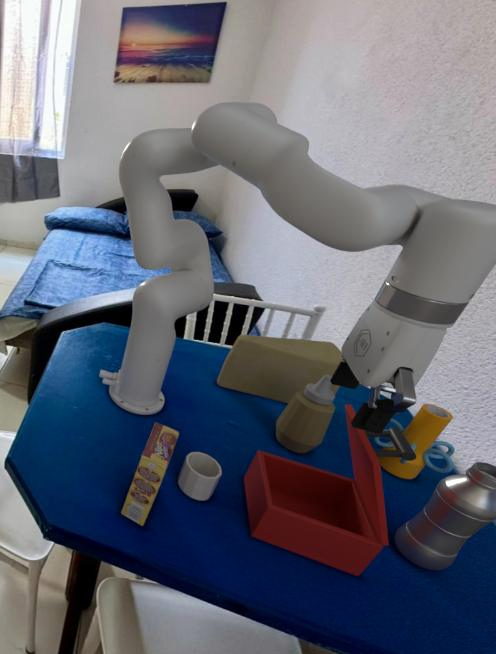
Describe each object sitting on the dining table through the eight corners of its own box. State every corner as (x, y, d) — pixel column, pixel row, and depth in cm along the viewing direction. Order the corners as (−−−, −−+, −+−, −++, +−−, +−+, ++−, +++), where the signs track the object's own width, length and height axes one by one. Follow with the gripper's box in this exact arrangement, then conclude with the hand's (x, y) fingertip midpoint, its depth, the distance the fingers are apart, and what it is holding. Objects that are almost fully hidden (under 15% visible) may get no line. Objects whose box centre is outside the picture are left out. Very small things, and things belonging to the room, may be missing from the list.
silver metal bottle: (378, 536, 69) (445, 454, 59) (414, 534, 69) (487, 452, 60) (416, 577, 63) (498, 494, 53) (455, 574, 64) (543, 491, 54)
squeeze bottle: (323, 461, 82) (365, 393, 74) (279, 454, 83) (316, 386, 75) (303, 432, 89) (340, 366, 80) (263, 425, 90) (295, 360, 82)
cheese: (221, 397, 98) (241, 346, 91) (212, 372, 107) (230, 324, 100) (325, 416, 94) (355, 364, 86) (307, 389, 102) (334, 339, 95)
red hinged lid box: (251, 536, 68) (268, 506, 64) (243, 478, 78) (258, 449, 74) (358, 576, 63) (383, 547, 59) (335, 508, 73) (356, 480, 69)
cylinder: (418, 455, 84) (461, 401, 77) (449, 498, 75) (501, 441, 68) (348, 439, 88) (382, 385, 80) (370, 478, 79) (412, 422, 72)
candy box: (145, 528, 69) (167, 467, 61) (120, 514, 71) (138, 454, 63) (158, 491, 75) (180, 431, 68) (135, 479, 77) (153, 420, 70)
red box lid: (372, 463, 55) (428, 464, 52) (344, 404, 65) (390, 403, 62) (381, 545, 59) (434, 550, 56) (354, 478, 69) (397, 480, 66)
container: (177, 492, 75) (186, 471, 72) (178, 469, 80) (186, 447, 77) (212, 505, 73) (222, 483, 70) (211, 480, 77) (220, 458, 75)
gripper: (356, 270, 59) (307, 365, 67) (410, 329, 45) (339, 439, 53) (423, 281, 56) (363, 378, 64) (502, 346, 42) (412, 459, 50)
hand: (352, 405), depth 59 cm, fingers open, 9 cm apart
